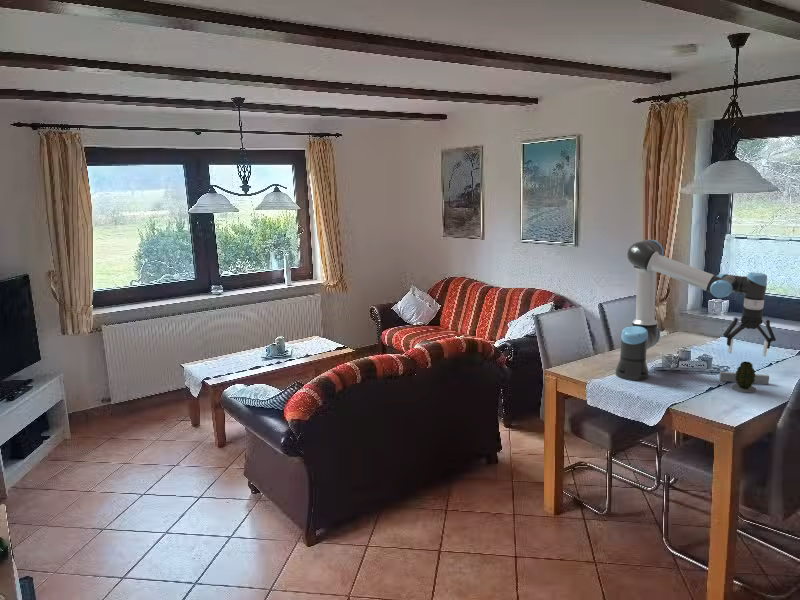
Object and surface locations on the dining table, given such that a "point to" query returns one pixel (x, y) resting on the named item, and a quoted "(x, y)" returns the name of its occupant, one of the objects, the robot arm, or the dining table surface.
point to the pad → (739, 389)
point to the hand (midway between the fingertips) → (746, 354)
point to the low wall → (731, 377)
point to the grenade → (745, 375)
